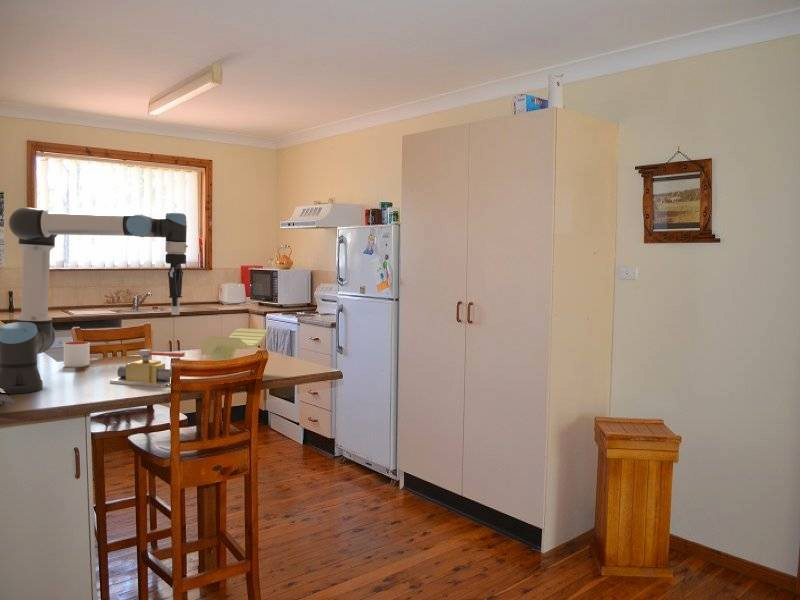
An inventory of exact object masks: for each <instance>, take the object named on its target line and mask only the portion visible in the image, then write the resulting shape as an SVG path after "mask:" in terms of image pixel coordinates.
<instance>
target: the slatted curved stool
mask: <svg viewBox="0 0 800 600" xmlns="http://www.w3.org/2000/svg"><path fill="white" fill-rule="evenodd" d="M268 330H269V329H264V328H262V329H259V328H245V327H243V328H241V327H240V328H236V329H235V330H233V331H232V333H231V334H230V335H229V336H213V335H208V336H206V337H204V338H203V339H202V341H201V343H200V344H201V345H200V349H201V350H200V355H203V356H204V355H205V356H210V358H211V361H212V360H222V359H230V358H233V359H234V356H235V353H236V350H249V349H252V348H256V347H258V346H260V345H261V343H263V340H265V339H266V337H268V335H269V334H268V333H269V332H268Z"/></svg>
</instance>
